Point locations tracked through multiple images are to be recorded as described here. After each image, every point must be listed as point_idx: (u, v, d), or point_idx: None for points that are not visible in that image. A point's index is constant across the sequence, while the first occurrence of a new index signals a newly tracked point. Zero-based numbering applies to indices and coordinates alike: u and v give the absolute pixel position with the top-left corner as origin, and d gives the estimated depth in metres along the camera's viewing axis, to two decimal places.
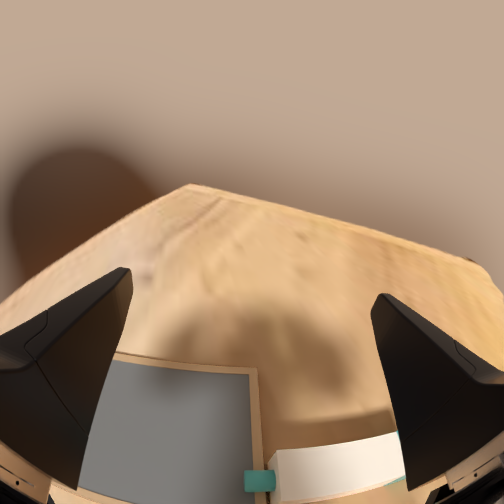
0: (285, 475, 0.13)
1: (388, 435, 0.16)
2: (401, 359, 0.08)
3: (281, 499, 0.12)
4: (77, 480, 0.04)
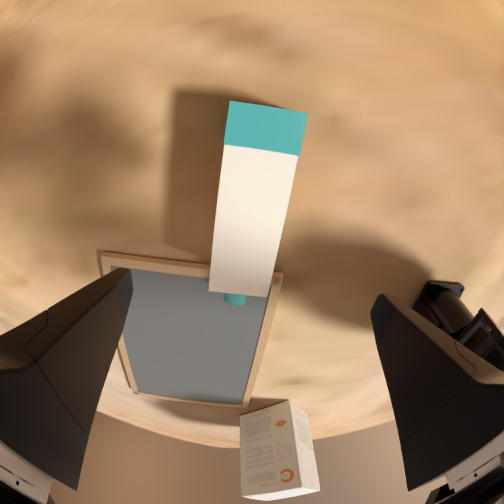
0: (239, 289, 0.19)
1: (225, 159, 0.14)
2: (401, 359, 0.08)
3: (265, 295, 0.19)
4: (77, 480, 0.04)
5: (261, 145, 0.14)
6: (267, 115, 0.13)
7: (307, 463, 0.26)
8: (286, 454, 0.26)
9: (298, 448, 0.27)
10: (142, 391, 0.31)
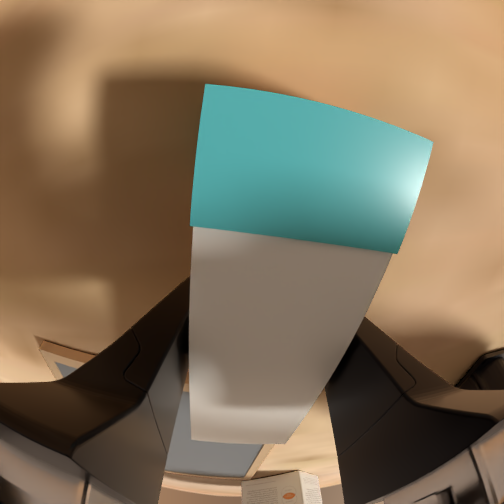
0: (241, 440, 0.09)
1: (199, 265, 0.05)
2: None
3: (282, 442, 0.10)
4: (157, 503, 0.05)
5: (303, 228, 0.05)
6: (330, 136, 0.04)
7: None
8: None
9: None
10: None
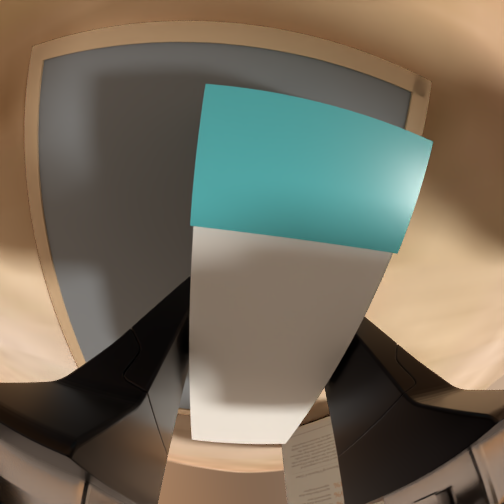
0: (241, 440, 0.09)
1: (200, 265, 0.05)
2: None
3: (282, 442, 0.10)
4: (157, 503, 0.05)
5: (304, 227, 0.05)
6: (329, 135, 0.04)
7: None
8: None
9: None
10: None
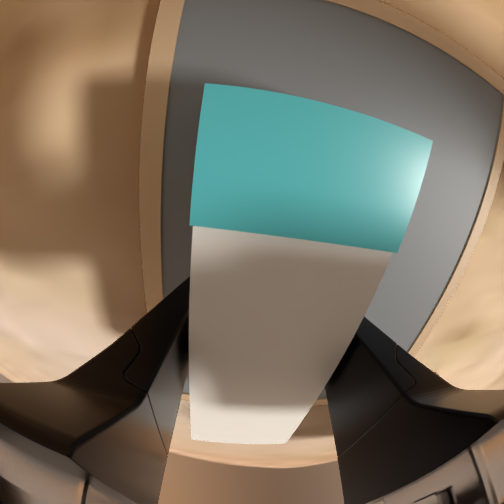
0: (241, 440, 0.09)
1: (199, 264, 0.05)
2: None
3: (282, 442, 0.10)
4: (157, 503, 0.05)
5: (303, 227, 0.05)
6: (329, 134, 0.04)
7: None
8: None
9: None
10: (183, 391, 0.15)
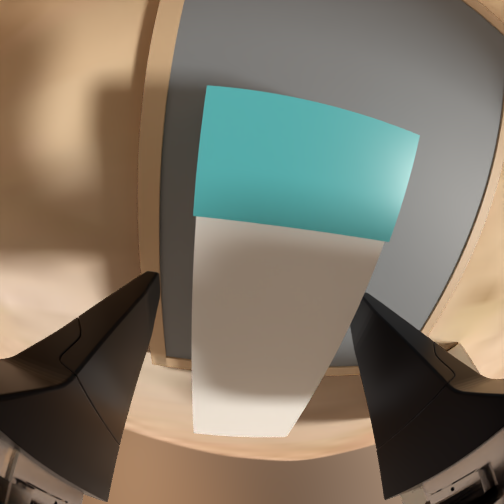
0: (243, 433, 0.10)
1: (202, 253, 0.06)
2: (377, 361, 0.07)
3: None
4: (108, 491, 0.05)
5: (298, 217, 0.05)
6: (321, 131, 0.04)
7: None
8: None
9: None
10: (178, 355, 0.13)
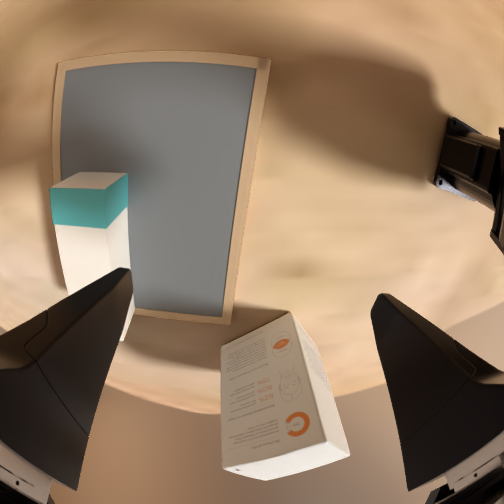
0: None
1: (58, 235, 0.15)
2: (401, 359, 0.08)
3: (121, 340, 0.19)
4: (77, 480, 0.04)
5: (76, 222, 0.14)
6: (75, 196, 0.14)
7: (328, 407, 0.18)
8: (293, 389, 0.18)
9: (312, 378, 0.19)
10: None
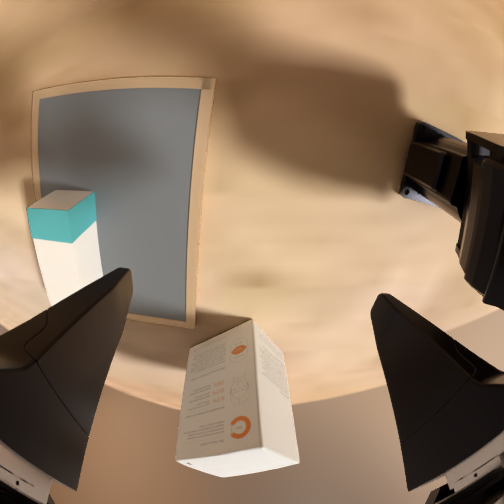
0: None
1: (36, 247, 0.16)
2: (401, 359, 0.08)
3: None
4: (77, 480, 0.04)
5: (49, 237, 0.16)
6: (46, 216, 0.15)
7: (277, 414, 0.19)
8: (241, 393, 0.19)
9: (262, 385, 0.20)
10: None
